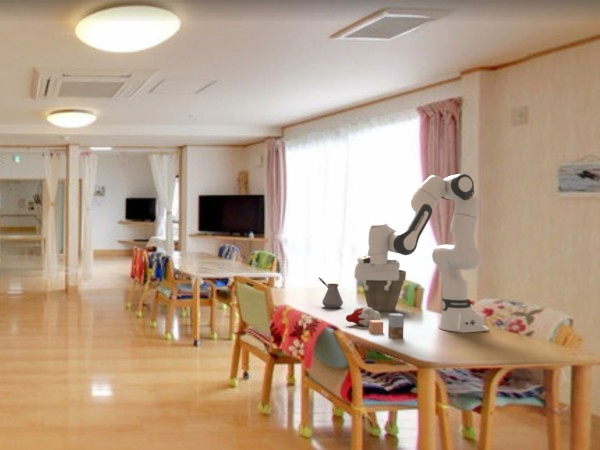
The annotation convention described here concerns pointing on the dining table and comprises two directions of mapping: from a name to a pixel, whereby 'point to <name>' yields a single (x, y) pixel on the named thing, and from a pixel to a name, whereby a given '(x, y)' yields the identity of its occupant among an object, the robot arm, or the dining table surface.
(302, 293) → the dining table surface
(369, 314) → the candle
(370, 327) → the terracotta block
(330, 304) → the coffee pot
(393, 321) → the block
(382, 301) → the plant pot
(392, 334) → the tower base
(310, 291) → the dining table surface
